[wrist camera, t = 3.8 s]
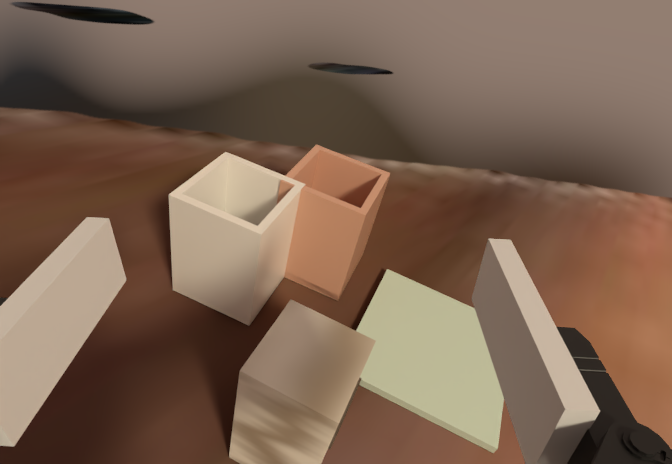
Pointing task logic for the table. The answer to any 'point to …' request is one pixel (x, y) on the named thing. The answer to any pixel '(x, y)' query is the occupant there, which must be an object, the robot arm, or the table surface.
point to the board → (432, 359)
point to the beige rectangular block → (297, 389)
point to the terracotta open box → (331, 218)
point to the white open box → (231, 235)
